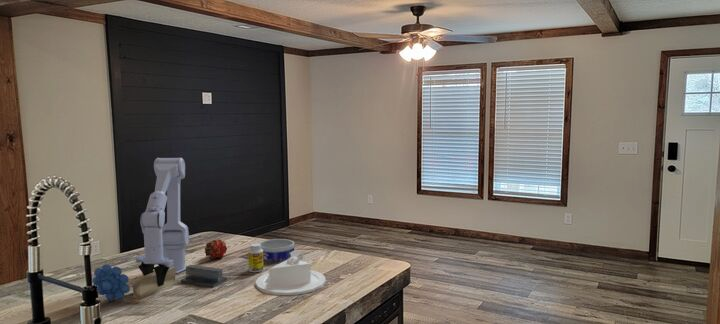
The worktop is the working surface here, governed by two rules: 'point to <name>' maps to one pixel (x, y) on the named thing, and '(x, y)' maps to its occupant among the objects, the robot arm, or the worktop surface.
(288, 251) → the dog bowl
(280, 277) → the dish
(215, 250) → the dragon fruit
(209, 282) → the balance ridge
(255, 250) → the supplement bottle
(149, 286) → the maple bar
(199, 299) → the worktop surface
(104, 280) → the grapes
